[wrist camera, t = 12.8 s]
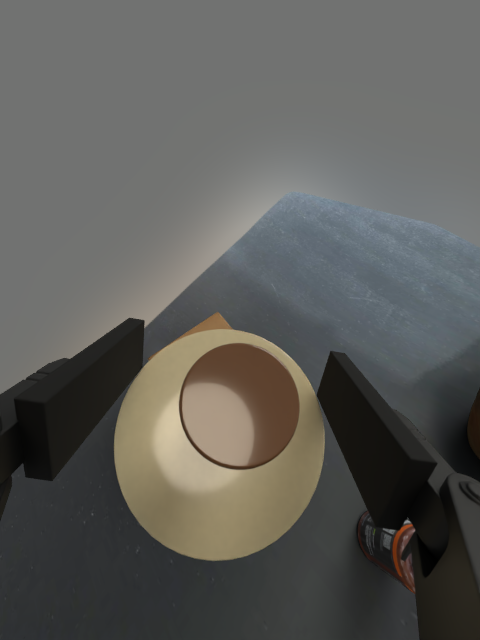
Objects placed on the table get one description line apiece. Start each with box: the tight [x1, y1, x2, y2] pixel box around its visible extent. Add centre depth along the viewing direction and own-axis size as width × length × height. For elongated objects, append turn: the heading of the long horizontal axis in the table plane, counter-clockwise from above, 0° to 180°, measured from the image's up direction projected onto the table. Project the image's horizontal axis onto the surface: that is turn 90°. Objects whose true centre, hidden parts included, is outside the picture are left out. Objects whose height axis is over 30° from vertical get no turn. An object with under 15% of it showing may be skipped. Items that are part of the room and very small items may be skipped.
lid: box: [114, 329, 325, 561], centre depth 9 cm, size 10×10×8 cm
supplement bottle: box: [358, 511, 415, 594], centre depth 28 cm, size 6×6×11 cm
